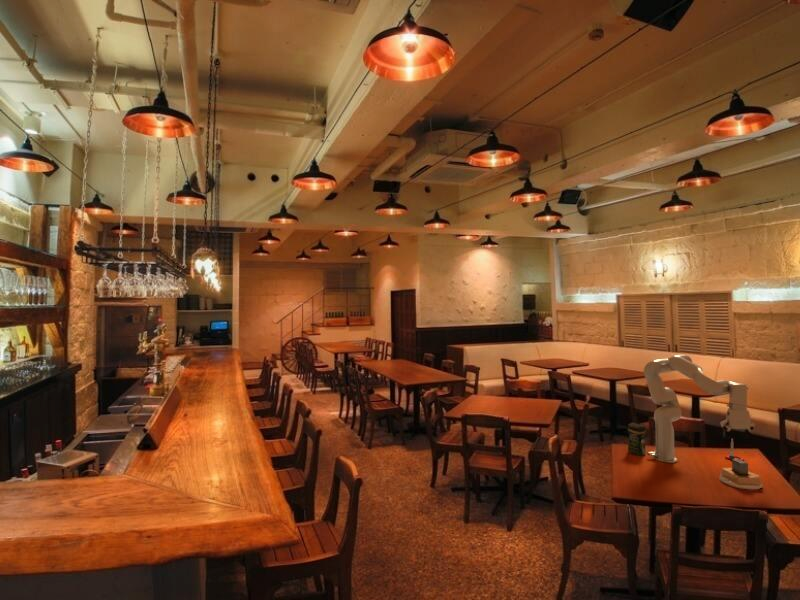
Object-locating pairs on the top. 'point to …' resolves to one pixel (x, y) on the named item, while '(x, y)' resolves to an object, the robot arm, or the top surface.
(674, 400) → the robot arm
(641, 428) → the coffee jar
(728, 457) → the tow hook
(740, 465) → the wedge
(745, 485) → the beige piece
